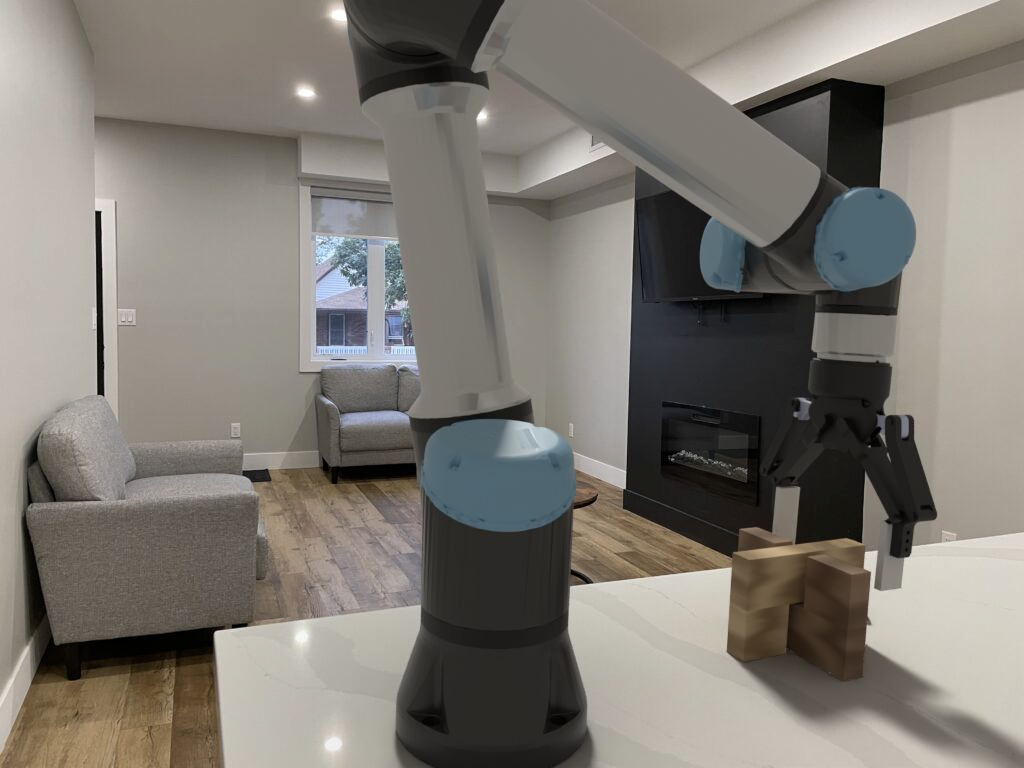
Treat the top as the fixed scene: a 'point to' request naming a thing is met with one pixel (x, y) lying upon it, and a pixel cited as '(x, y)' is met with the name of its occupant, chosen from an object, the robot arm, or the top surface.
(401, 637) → the top surface
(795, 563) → the wooden interlocking puzzle
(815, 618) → the slotted wooden board
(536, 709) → the robot arm
